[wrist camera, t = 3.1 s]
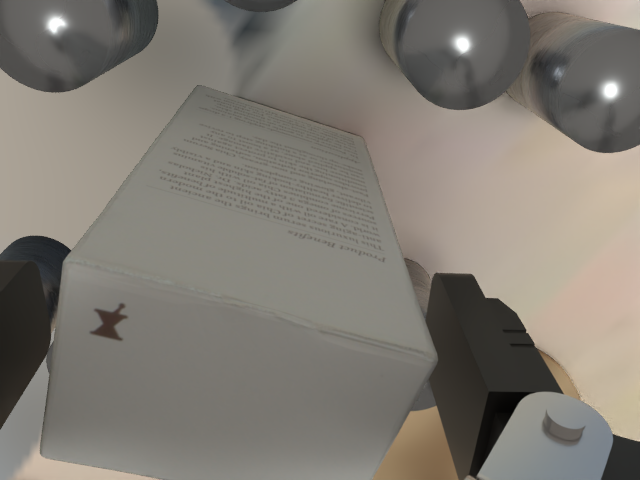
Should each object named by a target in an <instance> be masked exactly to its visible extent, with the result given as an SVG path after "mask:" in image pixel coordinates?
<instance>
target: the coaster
mask: <svg viewBox="0 0 640 480" xmlns="http://www.w3.org/2000/svg"><path fill="white" fill-rule="evenodd" d="M538 351H539V352H540V354H541V356H542V358H543V359H544V361H545V363H546V364H547V366H548V368H549V369H550V371H551V373H552V374H553V376H554V378H555V380H556V381H557V383H558V385H559V386H560V388H561V390H562V391H563V393H564V395H568V396H570V397H573V398H576V399H578V400H580V397H579V394H578V392H577V390H576V388H575V386H574V385H573V383H572V381H571V380H570V378H569V377H568V375H567V374H566V373H565V371H564V370H563V369H562V367H561V366H560V365H559V364H558V363H556V362H555V361H554V360H553V359H552V358H551V357H549V356H548V355H546V354H545V353H543V352H542V351H540V350H538ZM580 401H581V400H580ZM372 480H459V479H458V476H457V473H456V469H455V466H454V463H453V459H452V456H451V453H450V449H449V446H448V442H447V439H446V436H445V432H444V429H443V426H442V422H441V419H440V416H439V412H438V409H437V406H434V407H432V408H429V409H425V410H420V411H410V413H409V415H408V416H407V418H406V420H405V422H404V424H403V426H402V427H401V429H400V431H399V433H398V435H397V436H396V438H395V440H394V442H393V444H392V445H391V447H390V449H389V451H388V452H387V454H386V456H385V458H384V460H383V461H382V463H381V465H380V467H379V468H378V470H377V472H376V474H375V475H374V477H373V479H372Z"/></svg>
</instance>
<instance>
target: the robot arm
mask: <svg viewBox="0 0 640 480" xmlns="http://www.w3.org/2000/svg"><path fill="white" fill-rule="evenodd" d="M425 322H426V325H427V327H428V330H429V333H430V336H431V338H432V341H433V344H434V347H435V349H436V352H437V356H438V362H437V365H436V367H435V369H434V370H433V372H432V374H431V376H430V377H429V382H430V385H431V389H432V392H433V395H434V399H435V402H436V406H437V409H438V412H439V416H440V419H441V422H442V426H443V429H444V432H445V436H446V439H447V442H448V446H449V449H450V453H451V456H452V459H453V463H454V466H455V469H456V473H457V476H458V479H459V480H640V442H638V441H634V440H630V439H626V438H623V437H619V436H616V435H614V434H612V431H611V429H610V427H609V425H608V423H607V422H606V421H605V419H604V418H603V417H602V416H601V415H600V414H599V413H598V412H597V411H596V410H594V409H593V408H592V407H590V406H589V405H587V404H585V403H584V402H582V401H580V400H578V399H576V398H573V397H570V396H568V395H564V393H563V391H562V390H561V388H560V386H559V385H558V383H557V381H556V380H555V378H554V376H553V374H552V373H551V371H550V369H549V368H548V366H547V364H546V363H545V361H544V359H543V358H542V356H541V354H540V352H539V351H538V349H537V348H535V347H534V342H533V341H532V339H531V337H530V336H529V334H528V333H526V329H525V327H524V325H523V324H522V322H521V320H520V319H519V317H518V315H517V314H516V313H515V312H514V311H513V310H512V309H510V308H509V307H508V306H507V305H505V304H504V303H503V302H502V301H500V300H499V299H498V298H485V296H484V294H483V292H482V290H481V289H480V287H479V285H478V283H477V281H476V279H475V277H474V276H473V275H472V274H454V273H436V274H435V275H434V276H433V279H432V283H431V289H430V295H429V301H428V308H427V314H426V320H425ZM50 340H51V325H50V320H49V315H48V310H47V305H46V300H45V295H44V290H43V285H42V280H41V275H40V271H39V268H38V266H37V264H36V263H35V262H33V261H14V260H0V429H1V428H2V426H3V424H4V423H5V421H6V419H7V418H8V416H9V414H10V413H11V411H12V410H13V408H14V406H15V405H16V403H17V402H18V400H19V399H20V397H21V395H22V394H23V392H24V391H25V389H26V387H27V386H28V384H29V382H30V381H31V379H32V378H33V376H34V375H35V372H36V371H37V370H38V368H39V366H40V365H41V363H42V362H43V360H44V358H45V356H46V355H47V352H48V349H49V346H50Z"/></svg>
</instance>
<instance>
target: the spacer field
mask: <svg viewBox="0 0 640 480" xmlns="http://www.w3.org/2000/svg"><path fill="white" fill-rule="evenodd" d="M225 1H226V2H228V3H230V4H232V5H233V6H236V7H238V8H241V9H244V10H248V11H255V12H268V11H274V10H278V9H281V8H284V7H286V6H288V5H290V4H292V3H293V2H295V1H296V0H225ZM157 24H158V6H157V1H156V0H0V68H1V69H2V70H3V71H4V72H5V73H7V74H8V75H9V76H10V77H12V78H13V79H15V80H16V81H18V82H20V83H22V84H24V85H26V86H28V87H31V88H33V89H36V90H41V91H44V92H65V91H70V90H74V89H77V88H79V87H81V86H83V85H85V84H86V83H88V82H90V81H91V80H93V79H95V78H97V77H98V76H100V75H102V74H104V73H105V72H107V71H109V70H110V69H112V68H114V67H115V66H117V65H119V64H120V63H122V62H124V61H126V60H127V59H129V58H131V57H132V56H134V55H135V54H137V53H139V52H140V51H142V50H143V49H144V48H145V47H146V46H147V45H148V44H149V43H150V41H151V40H152V38H153V36H154V34H155V31H156V28H157ZM379 31H380V38H381V42H382V44H383V47H384V49H385V51H386V53H387V54H388V56H389V57H390V58H391V59H392V61H393V62H394V63H395V64H396V65H397V67H398V68H399V69H400V70H401V71H402V73H403V74H404V75H405V76H406V77H407V79H408V80H409V81H410V82H411V83H412V85H413V86H414V87H415V88H416V89H417V91H418V92H419V93H420V94H421V95H422V96H423V97H425V98H426V99H427V100H428V101H430V102H432V103H433V104H435V105H438V106H440V107H443V108H447V109H454V110H466V109H473V108H476V107H480V106H482V105H485V104H487V103H489V102H491V101H493V100H494V99H496V98H497V97H499V96H500V95H502V94H503V93H504V92H505V91H507V93H508V94H509V95H510V96H511V97H512V98H513V99H514V100H515V101H517V102H518V103H520V104H521V105H523V106H524V107H526V108H527V109H528V110H530V111H531V112H533V113H534V114H536V115H537V116H539V117H540V118H542V119H543V120H544V121H546V122H547V123H549V124H550V125H552V126H553V127H555V128H556V129H557V130H559V131H560V132H562V133H563V134H565V135H566V136H568V137H569V138H571V139H572V140H573V141H575V142H576V143H578V144H579V145H581V146H583V147H584V148H586V149H589V150H592V151H596V152H602V153H614V152H621V151H624V150H628V149H631V148H633V147H636V146H638V145H640V30H637V29H632V28H628V27H623V26H619V25H614V24H610V23H606V22H601V21H597V20H592V19H588V18H583V17H579V16H574V15H570V14H565V13H560V12H548V13H543V14H539V15H536V16H534V17H532V18H530V19H528V17H527V14H526V12H525V10H524V7H523V6H522V4H521V2H520V1H519V0H386V1H385V3H384V6H383V8H382V12H381V15H380V22H379ZM70 252H71V250H70V249H69V248H68V247H66V246H65V245H64V244H62V243H60V242H59V241H56V240H54V239H51V238H48V237H44V236H27V237H23V238H20V239H18V240H16V241H14V242H13V243H11V245H9V246H8V247H7V248H6V249H5V250H4V251H3V252H2V253H1V254H0V260H14V261H33V262H35V263H36V264H37V266H38V268H39V271H40V275H41V280H42V285H43V290H44V295H45V300H46V305H47V310H48V315H49V320H50V325H51V333H52V331H53V330H54V328H55V327H56V319H57V310H58V301H59V293H60V284H61V275H62V266H63V261H64V260H65V258H66V257H67V255H68V254H69V253H70ZM404 261H405V264H406V267H407V270H408V273H409V276H410V279H411V281H412V284H413V287H414V290H415V293H416V296H417V299H418V303H419V305H420V308H421V311H422V313H423V316H424V319H425V320H426V314H427V308H428V301H429V295H430V289H431V281H430V278H429V276H428V274H427V272H426V271H425V270H424V269H423V268H422V267H421V266H420V265H418V264H417V263H415V262H413V261H411V260H408V259H404ZM53 343H54V341H53ZM53 343H52V345H51V346H50V348H49V350H48V353H47V359H46V362H47V368H48V372H49V374H50V367H51V359H52V351H53ZM434 406H436V402H435V399H434V395H433V392H432V389H431V385H430V382H429V379H428V381H427V382H426V384H425V386H424V388H423V390H422V391H421V393H420V395H419V397H418V399H417V400H416V402H415V404H414V406H413V407H412V409H411V411H420V410H425V409H429V408H432V407H434Z"/></svg>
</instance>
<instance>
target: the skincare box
mask: <svg viewBox="0 0 640 480" xmlns="http://www.w3.org/2000/svg"><path fill="white" fill-rule="evenodd" d="M437 362H438V356H437V352H436V349H435V347H434V344H433V341H432V338H431V336H430V333H429V330H428V327H427V325H426V322H425V319H424V316H423V313H422V311H421V308H420V305H419V303H418V299H417V296H416V293H415V290H414V287H413V284H412V281H411V279H410V276H409V273H408V270H407V267H406V264H405V261H404V258H403V255H402V252H401V249H400V246H399V243H398V240H397V237H396V234H395V231H394V227H393V224H392V221H391V218H390V216H389V213H388V210H387V207H386V204H385V201H384V198H383V194H382V191H381V188H380V185H379V182H378V179H377V176H376V173H375V170H374V167H373V164H372V161H371V158H370V155H369V152H368V149H367V146H366V143H365V141H364V139H363V138H362V137H360V136H357V135H353V134H350V133H347V132H344V131H341V130H338V129H335V128H332V127H329V126H326V125H323V124H320V123H317V122H313V121H310V120H307V119H304V118H301V117H298V116H295V115H292V114H289V113H286V112H282V111H279V110H276V109H273V108H270V107H267V106H264V105H261V104H258V103H255V102H251V101H248V100H245V99H242V98H239V97H235V96H232V95H229V94H226V93H223V92H220V91H217V90H214V89H210V88H208V87H205V86H202V85H197V86H196V87H195V89H194V90H193V91H192V93H191V94H190V95H189V96H188V98H187V99H186V100H185V102H184V103H183V104H182V106H181V107H180V108H179V110H178V111H177V112H176V114H175V115H174V117H173V118H172V119H171V121H170V122H169V123H168V124H167V126H166V127H165V128H164V129H163V131H162V132H161V133H160V135H159V136H158V137H157V138H156V140H155V141H154V142H153V144H152V145H151V146H150V148H149V149H148V151H147V152H146V153H145V155H144V156H143V158H142V159H141V160H140V162H139V163H138V164H137V165H136V166H135V168H134V169H133V171H132V172H131V173H130V175H129V176H128V177H127V178H126V180H125V181H124V182H123V184H122V185H121V187H120V188H119V189H118V191H117V192H116V194H115V195H114V197H113V198H112V199H111V200H110V201H109V203H108V204H107V206H106V208H105V209H104V210H103V212H102V213H101V214H100V216H99V217H98V218H97V219H96V221H95V222H94V223H93V224H92V225H91V226H90V228H89V229H88V230H87V232H86V233H85V234H84V235H83V237H82V238H81V239H80V241H79V242H78V243H77V244H76V246H75V247H74V248H73V249H72V251H71V252H70V253H69V254H68V255H67V257H66V258H65V260H64V261H63V266H62V275H61V284H60V293H59V301H58V310H57V319H56V327H55V335H54V343H53V351H52V359H51V367H50V375H49V383H48V391H47V398H46V406H45V414H44V421H43V428H42V436H41V444H40V454H41V456H43V457H45V458H47V459H53V460H58V461H63V462H69V463H75V464H81V465H86V466H92V467H98V468H103V469H109V470H115V471H120V472H126V473H131V474H136V475H141V476H146V477H152V478H157V479H162V480H372V479H373V477H374V475H375V474H376V472H377V470H378V468H379V467H380V465H381V463H382V461H383V460H384V458H385V456H386V454H387V452H388V451H389V449H390V447H391V445H392V444H393V442H394V440H395V438H396V436H397V435H398V433H399V431H400V429H401V427H402V426H403V424H404V422H405V420H406V418H407V416H408V415H409V413H410V411H411V409H412V407H413V406H414V404H415V402H416V400H417V399H418V397H419V395H420V393H421V391H422V390H423V388H424V386H425V384H426V382H427V381H428V379H429V377H430V376H431V374H432V372H433V370H434V369H435V367H436V365H437Z"/></svg>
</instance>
